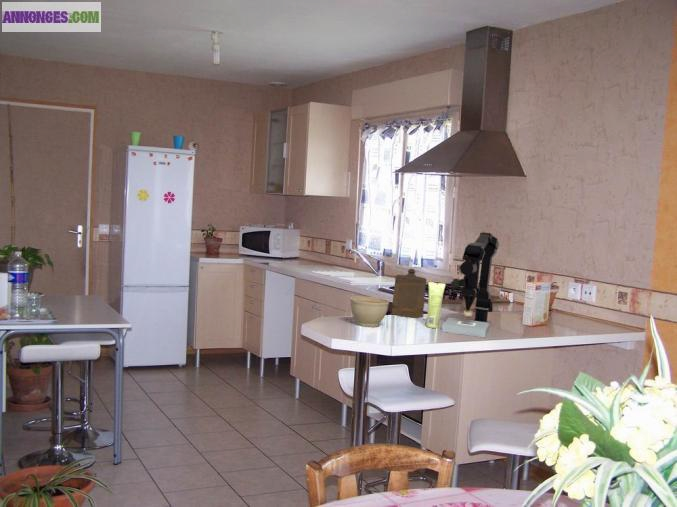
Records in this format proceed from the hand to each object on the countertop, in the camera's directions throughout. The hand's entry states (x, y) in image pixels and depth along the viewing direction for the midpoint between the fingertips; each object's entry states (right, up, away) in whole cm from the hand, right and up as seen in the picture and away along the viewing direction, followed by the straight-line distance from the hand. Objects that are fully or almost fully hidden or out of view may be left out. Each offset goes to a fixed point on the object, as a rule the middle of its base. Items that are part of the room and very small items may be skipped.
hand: (468, 309), depth 307 cm
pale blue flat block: (-1, -9, +1) cm, 9 cm away
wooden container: (-24, -5, +29) cm, 38 cm away
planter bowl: (-44, -6, -9) cm, 45 cm away
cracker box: (+38, -10, +34) cm, 52 cm away
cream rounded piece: (0, -3, 0) cm, 2 cm away
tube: (-15, -8, +1) cm, 17 cm away
